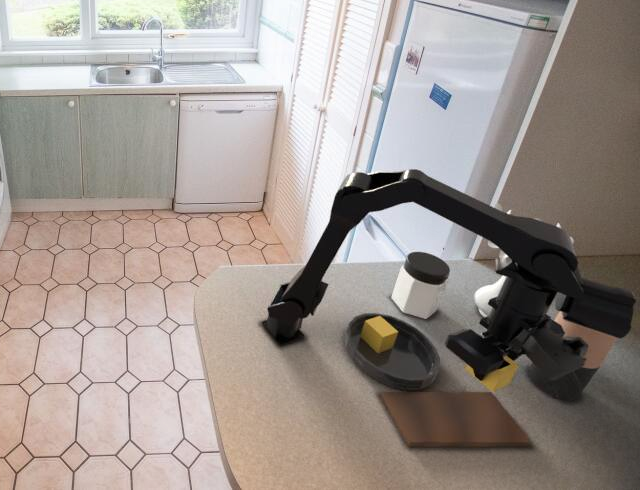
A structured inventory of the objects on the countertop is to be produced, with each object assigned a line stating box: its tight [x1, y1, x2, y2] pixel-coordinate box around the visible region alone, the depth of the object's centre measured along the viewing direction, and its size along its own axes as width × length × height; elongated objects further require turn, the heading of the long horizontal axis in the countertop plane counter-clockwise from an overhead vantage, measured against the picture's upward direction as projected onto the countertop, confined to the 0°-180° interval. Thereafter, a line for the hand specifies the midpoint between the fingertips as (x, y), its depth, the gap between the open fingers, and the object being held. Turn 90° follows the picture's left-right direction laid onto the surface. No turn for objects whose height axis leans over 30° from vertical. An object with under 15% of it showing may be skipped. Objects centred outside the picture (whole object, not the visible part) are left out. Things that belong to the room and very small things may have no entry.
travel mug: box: [528, 311, 618, 401], centre depth 81 cm, size 8×8×20 cm
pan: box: [343, 312, 441, 391], centre depth 90 cm, size 16×16×3 cm
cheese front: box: [464, 356, 520, 393], centre depth 74 cm, size 4×4×4 cm
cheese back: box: [360, 316, 398, 353], centre depth 92 cm, size 4×4×4 cm
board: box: [380, 391, 532, 448], centre depth 78 cm, size 20×9×1 cm, turn 90°
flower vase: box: [473, 202, 575, 318], centre depth 96 cm, size 13×18×25 cm
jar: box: [391, 251, 451, 320], centre depth 101 cm, size 9×8×12 cm
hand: (487, 374), depth 75 cm, fingers closed on cheese front, 4 cm apart
